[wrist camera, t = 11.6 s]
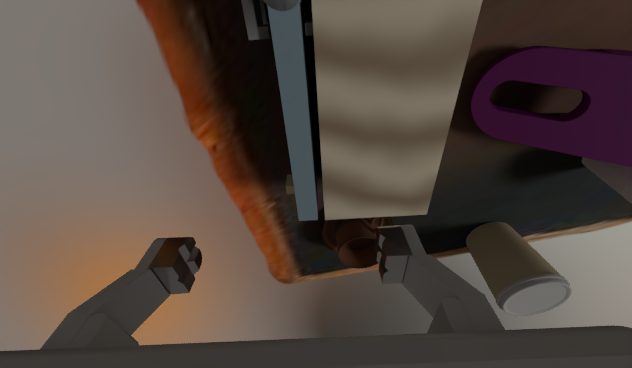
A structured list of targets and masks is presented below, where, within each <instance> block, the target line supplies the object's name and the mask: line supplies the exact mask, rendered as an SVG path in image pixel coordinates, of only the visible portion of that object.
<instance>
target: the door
mask: <svg viewBox="0 0 632 368" xmlns="http://www.w3.org/2000/svg"><path fill="white" fill-rule="evenodd" d="M263 1H264V2H265V3H266V4H267V7H268V14H269V21H270V28H271V34H272V41H273V48H274V55H275V61H276V68H277V75H278V82H279V88H280V95H281V102H282V109H283V116H284V122H285V129H286V136H287V143H288V149H289V156H290V163H291V170H292V175H287V180H286V192H287V194H295V197H296V204H297V210H298V217H299V221H308V220H318V206H317V173H316V160H315V147H314V135H313V122H312V109H311V97H310V84H309V71H308V59H307V46H306V33H305V21H304V8H303V2H304V1H305V0H263Z"/></svg>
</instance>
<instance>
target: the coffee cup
mask: <svg viewBox="0 0 632 368" xmlns="http://www.w3.org/2000/svg"><path fill="white" fill-rule="evenodd" d="M466 245H467V247H468V249H469V251H470V253H471V255H472V257H473V259H474V260H475V263H476V264H477V266H478V268H479V270H480V272H481V274H482V275H483V277H484V279H485V281H486V283H487V285H488V287H489V289H490V290H491V292H492V294H493V295H494V297H495V299H496V303H497V305H498V306H499V307H500V308H501V309H502V310H503V311H505V312H506V313H508V314H510V315H515V316H528V315H534V314H539V313H542V312H546V311H548V310H551V309H553V308H555V307H557V306H559V305H561V304H562V303H564V302H565V301H566V300H567V299H568V298H569V297H570V295H571V288H570V284H569V282H568V281H567V280H566V279H565V278H564V277H563V276H561V275H560V274H559V273H558V272H557V271H556V270H555V269H554V268H553V267H552V266H551V265H550V264H549V263H548V262H547V261H546V260H545V259H544V258H543V257H542V256H541V255H540V254H539V253H538V252H537V251H536V250H535V249H533V248H532V247H531V246H530V245H529V244H528V243H527V242H526V241H525V240H524V239H523V238H522V237H521V236H520V235H519V234H518V233H517V232H516V231H515V230H514V229H512V228H511V227H510V226H509V225H508V224H506V223H504V222H489V223H486V224H483V225H481V226H479V227H477V228H475V229H474V230H472V231H471V232H470V233H469V235H468V236H467V238H466Z"/></svg>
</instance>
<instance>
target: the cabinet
mask: <svg viewBox="0 0 632 368" xmlns="http://www.w3.org/2000/svg"><path fill="white" fill-rule="evenodd" d="M241 2H242V8H243V13H244V18H245V23H246V28H247V33H248V38H249V40H258V39H270V38H271V37H272V34H271V28H270V21H269V14H268V7H267V4H266V3H265V2H264V1H263V0H241ZM311 2H312V18H307V19H306V22H305V32H306V36H310V35H314V50H315V66H316V83H317V99H318V115H319V131H320V147H321V163H322V180H323V196H324V212H325V220H335V219H353V218H371V217H388V216H406V215H423V214H427V211H428V207H429V204H430V200H431V196H432V192H433V188H434V184H435V181H436V177H437V173H438V169H439V165H440V161H441V158H442V154H443V150H444V146H445V142H446V138H447V135H448V131H449V127H450V123H451V119H452V115H453V111H454V108H455V104H456V100H457V96H458V92H459V88H460V85H461V81H462V77H463V73H464V69H465V65H466V62H467V58H468V54H469V50H470V46H471V42H472V39H473V35H474V31H475V27H476V23H477V19H478V16H479V12H480V8H481V4H482V0H311Z"/></svg>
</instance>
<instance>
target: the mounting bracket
mask: <svg viewBox="0 0 632 368" xmlns="http://www.w3.org/2000/svg"><path fill="white" fill-rule="evenodd" d="M510 80H515V81H522V82H529V83H536V84H544V85H551V86H558V87H565V88H572V89H579V90H581V91H582V94H583V97H582V101H581V103H580V104H579V105H578V106H577V107H576V108H575V109H574V110H573V111H571V112H569V113H562V114H560V115H557V116H555V115H548V114H542V113H536V112H531V111H525V110H519V109H513V108H508V107H502V106H496V105H494V104H492V103H491V102H490V101H489V98H490V94H491V92H492V91H493V89H494V88H495V87H496V86H498V85H499V84H501V83H503V82H505V81H510ZM471 111H472V116H473V119H474V121H475V123H476V124H477V126H478V127H479V128H480V129H481V130H482V131H483V132H484V133H486V134H487V135H489V136H491V137H494V138H496V139H500V140H504V141H509V142H514V143H518V144H523V145H528V146H533V147H537V148H542V149H547V150H552V151H556V152H561V153H566V154H571V155H576V156H580V157H585V158H590V159H595V160H599V161H604V162H609V163H614V164H618V165H623V166H628V167H632V51H627V50H613V49H602V50H601V51H600V52H599V51H589V50H579V49H569V48H559V47H550V46H531V47H525V48H521V49H518V50H515V51H512V52H510V53H508V54H506V55H504V56H502V57H500V58H499V59H497V60H496V61H494V62H493V63H492V64H491V65H490V66H488V67H487V68H486V69H485V71H484V72H483V73H482V74H481V76H480V77H479V79H478V80H477V82H476V84H475V86H474V88H473V91H472V94H471Z"/></svg>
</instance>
